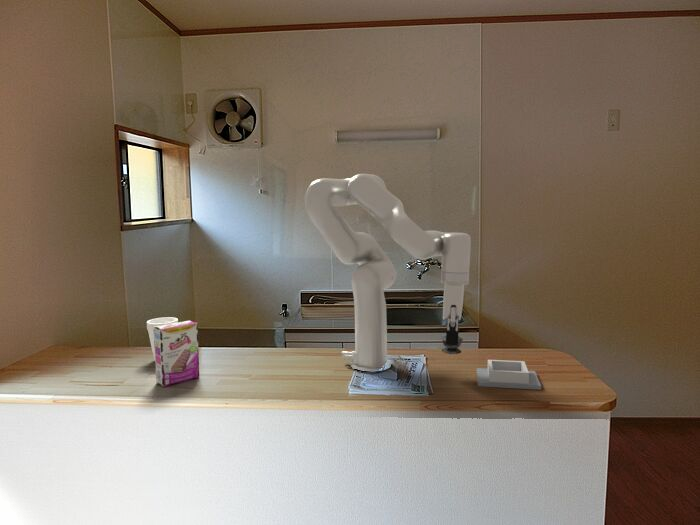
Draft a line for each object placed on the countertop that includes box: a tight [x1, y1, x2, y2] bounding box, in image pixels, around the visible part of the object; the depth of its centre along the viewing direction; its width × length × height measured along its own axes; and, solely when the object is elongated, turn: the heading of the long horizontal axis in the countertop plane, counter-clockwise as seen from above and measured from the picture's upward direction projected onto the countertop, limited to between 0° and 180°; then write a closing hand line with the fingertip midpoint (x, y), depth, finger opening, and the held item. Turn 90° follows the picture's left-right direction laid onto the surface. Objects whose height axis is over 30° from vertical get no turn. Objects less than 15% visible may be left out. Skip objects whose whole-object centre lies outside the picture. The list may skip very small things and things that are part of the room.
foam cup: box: [146, 316, 179, 361], centre depth 165 cm, size 10×9×13 cm
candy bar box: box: [154, 320, 200, 388], centre depth 145 cm, size 11×5×16 cm, turn 134°
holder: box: [476, 359, 542, 390], centre depth 141 cm, size 16×12×4 cm
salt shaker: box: [440, 315, 464, 355], centre depth 143 cm, size 6×6×12 cm
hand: (452, 340), depth 143 cm, fingers closed on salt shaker, 5 cm apart
